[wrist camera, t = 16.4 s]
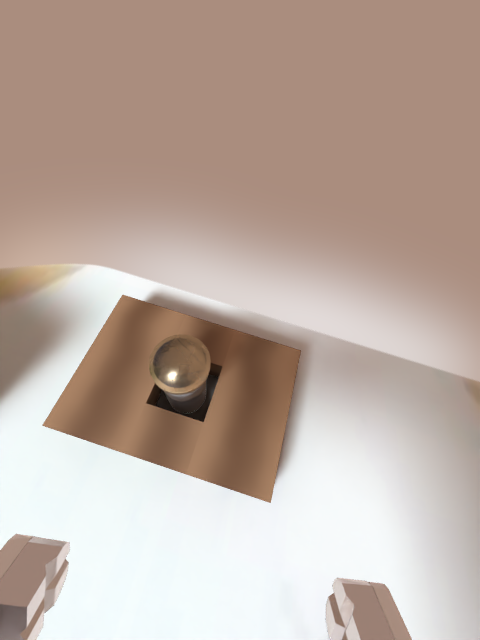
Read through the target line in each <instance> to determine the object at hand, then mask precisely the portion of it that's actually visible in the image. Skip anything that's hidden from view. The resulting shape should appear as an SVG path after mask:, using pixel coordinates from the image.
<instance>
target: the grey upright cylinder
mask: <svg viewBox="0 0 480 640" xmlns="http://www.w3.org/2000/svg"><path fill="white" fill-rule="evenodd" d="M210 364H211V360H210V354H209V351H208V349H207V348H206V346H205V345H204V344H203V343H202V342H201V341H200V340H199V339H197V338H195V337H193V336H190V335H183V334H182V335H174V336H170V337H168V338H166V339H164V340H162V341H161V342H160V343H159V344H158V345H157V346H156V347H155V348H154V350H153V351H152V353H151V356H150V359H149V371H150V374H151V376H152V378H153V380H154V382H155V383H156V385H157V386H158V387H159V388H160V389H162V390H163V391H164V393H165V395H166V397H167V399H168V401H169V403H170V404H171V406H172V407H173V408H174V409H175V410H176V411H178V412H180V413H192V412H195V411H196V410H198V409H199V408H200V407H201V406H202V405H203V403H204V401H205V399H206V379H207V377H208V375H209V372H210Z"/></svg>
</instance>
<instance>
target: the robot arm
mask: <svg viewBox="0 0 480 640" xmlns="http://www.w3.org/2000/svg"><path fill="white" fill-rule="evenodd" d="M69 551H70V542H65V541H59V540H52V539H46V538H39V537H34V536H27V535H20V534H16V535H14V536H13V537H12V538H11V539H9V540H8V542H7V543H6V544H5V545H4V547H3V548H2V549H1V550H0V640H36V639H37V637H38V635H39V633H40V631H41V629H42V628H43V622H44V613H46V612H47V611H48V610H49V609H50V608H51V607H53V606H54V604H55V602H56V600H57V598H58V596H59V594H60V592H61V590H62V587H63V585H64V582H65V579H66V576H67V572H68V565H69V563H68V561H67V560H66V559H65V558H66V557H67V555H68V553H69ZM332 587H333V590H334V593H333V594H332V595H330V596H329V597H328V600H327V603H326V624H327V629H328V634H329V638H330V640H412V639H411V636H410V634H409V632H408V630H407V628H406V626H405V624H404V621H403V619H402V617H401V615H400V613H399V611H398V608H397V606H396V604H395V602H394V600H393V598H392V596H391V593H390V591H389V589H388V588H387V587H386V585H385V584H382V583H373V582H367V581H362V580H353V579H344V578H336V579H335V580H334V583H333V585H332Z"/></svg>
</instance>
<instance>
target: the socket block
mask: <svg viewBox="0 0 480 640" xmlns="http://www.w3.org/2000/svg"><path fill="white" fill-rule="evenodd" d="M182 334H183V335H190V336H193V337H195V338H197V339H199V340H200V341H201V342H202V343H203V344H204V345H205V346H206V348H207V349H208V351H209V354H210V360H211V364H210V372H209V375H212V376H215V377H218V378H219V379H218V382H217V384H216V387H215V390H214V393H213V396H212V399H211V402H210V405H209V408H208V411H207V414H206V417H205V420H204V422H201V421H198V420H195V419H192V418H189V417H186V416H183V415H180V414H177V413H174V412H171V411H168V410H165V409H162V408H159V407H156V403H157V401H158V399H159V397H160V394H161V392H162V389H160V388H159V387H158V386H157V385H156V383H155V382H154V380H153V378H152V376H151V374H150V371H149V359H150V356H151V353H152V351H153V350H154V348H155V347H156V346H157V345H158V344H159V343H160V342H161V341H162V340H164V339H166V338H168V337H170V336H174V335H182ZM300 353H301V350H297V349H294V348H291V347H288V346H285V345H281V344H278V343H275V342H272V341H269V340H265V339H262V338H259V337H256V336H253V335H250V334H246V333H243V332H240V331H237V330H234V329H230V328H227V327H224V326H221V325H218V324H214V323H211V322H208V321H205V320H202V319H198V318H195V317H192V316H189V315H186V314H183V313H179V312H176V311H173V310H170V309H167V308H163V307H160V306H157V305H154V304H151V303H147V302H144V301H141V300H138V299H135V298H131V297H128V296H125V295H122V296H121V298H120V300H119V301H118V303H117V305H116V306H115V308H114V310H113V311H112V313H111V314H110V316H109V318H108V319H107V321H106V323H105V324H104V326H103V328H102V329H101V331H100V332H99V334H98V336H97V337H96V339H95V341H94V342H93V344H92V345H91V347H90V349H89V350H88V352H87V354H86V355H85V357H84V359H83V360H82V362H81V363H80V365H79V367H78V368H77V370H76V372H75V373H74V375H73V376H72V378H71V380H70V381H69V383H68V385H67V386H66V388H65V390H64V391H63V393H62V394H61V396H60V398H59V399H58V401H57V403H56V404H55V406H54V407H53V409H52V411H51V412H50V414H49V416H48V417H47V419H46V421H45V422H44V424H43V425H42V426H45V427H48V428H51V429H54V430H57V431H60V432H63V433H66V434H69V435H72V436H75V437H78V438H81V439H84V440H87V441H90V442H92V443H95V444H98V445H101V446H104V447H107V448H110V449H113V450H116V451H119V452H122V453H125V454H128V455H131V456H134V457H137V458H140V459H143V460H146V461H149V462H151V463H154V464H157V465H160V466H163V467H166V468H169V469H172V470H175V471H178V472H181V473H184V474H187V475H190V476H193V477H196V478H199V479H202V480H205V481H208V482H210V483H213V484H216V485H219V486H222V487H225V488H228V489H231V490H234V491H237V492H240V493H243V494H246V495H249V496H252V497H255V498H258V499H261V500H264V501H266V502H269V503H271V498H272V493H273V488H274V483H275V478H276V473H277V468H278V463H279V458H280V453H281V448H282V443H283V438H284V433H285V428H286V423H287V418H288V413H289V408H290V403H291V398H292V393H293V388H294V383H295V378H296V373H297V368H298V363H299V358H300Z"/></svg>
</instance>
